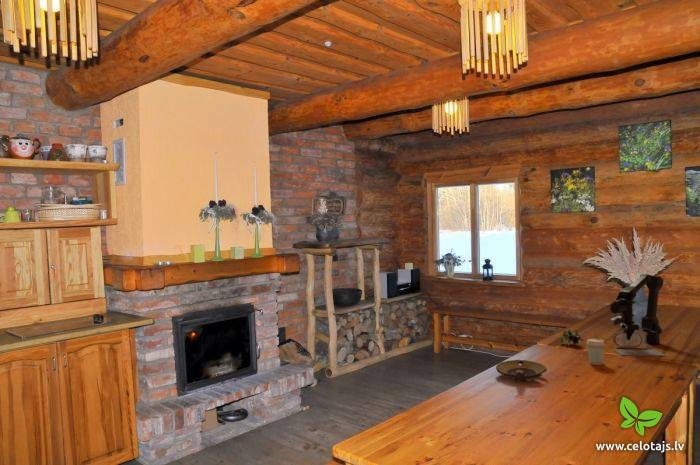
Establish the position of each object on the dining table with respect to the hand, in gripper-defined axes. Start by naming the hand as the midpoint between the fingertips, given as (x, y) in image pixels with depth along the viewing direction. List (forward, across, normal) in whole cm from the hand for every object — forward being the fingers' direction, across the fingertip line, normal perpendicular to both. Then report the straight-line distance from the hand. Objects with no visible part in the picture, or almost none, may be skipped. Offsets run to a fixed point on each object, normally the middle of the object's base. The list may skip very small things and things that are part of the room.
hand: (627, 339), depth 296 cm
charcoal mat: (+5, +13, +1) cm, 14 cm away
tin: (+4, +1, 0) cm, 4 cm away
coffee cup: (+5, +36, -28) cm, 46 cm away
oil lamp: (+5, +64, -71) cm, 96 cm away
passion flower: (+5, -4, -30) cm, 31 cm away
